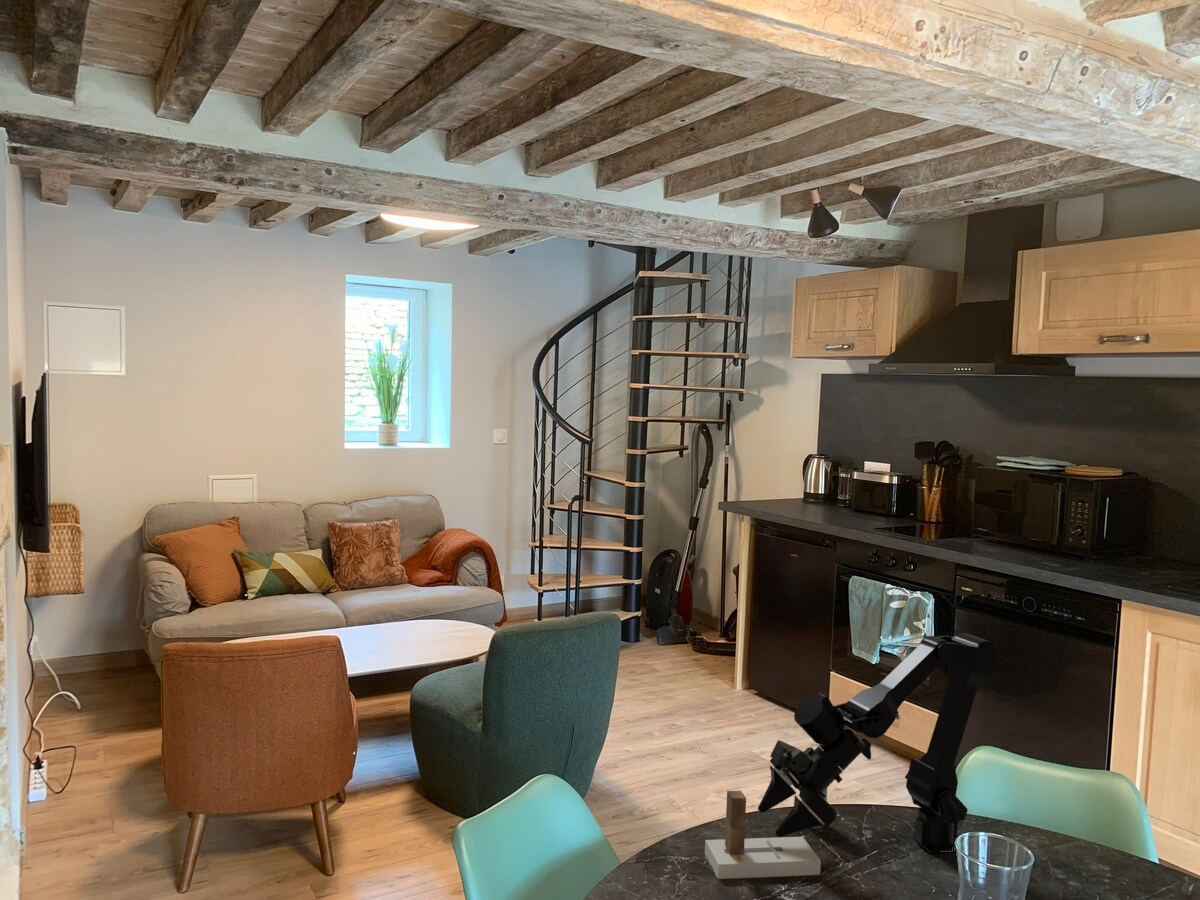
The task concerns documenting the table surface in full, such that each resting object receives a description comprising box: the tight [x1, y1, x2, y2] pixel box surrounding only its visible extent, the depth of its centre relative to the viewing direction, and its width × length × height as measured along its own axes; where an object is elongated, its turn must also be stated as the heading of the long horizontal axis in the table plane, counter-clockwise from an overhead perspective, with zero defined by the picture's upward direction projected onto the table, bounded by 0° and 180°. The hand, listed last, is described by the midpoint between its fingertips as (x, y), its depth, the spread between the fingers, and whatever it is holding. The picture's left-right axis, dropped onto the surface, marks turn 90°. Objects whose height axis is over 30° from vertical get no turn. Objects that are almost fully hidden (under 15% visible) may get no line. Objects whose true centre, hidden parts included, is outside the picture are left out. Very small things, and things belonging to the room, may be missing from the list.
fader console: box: [704, 836, 822, 880], centre depth 156 cm, size 18×9×3 cm, turn 98°
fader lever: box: [724, 790, 747, 854], centre depth 155 cm, size 2×3×10 cm
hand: (767, 822), depth 156 cm, fingers open, 9 cm apart
